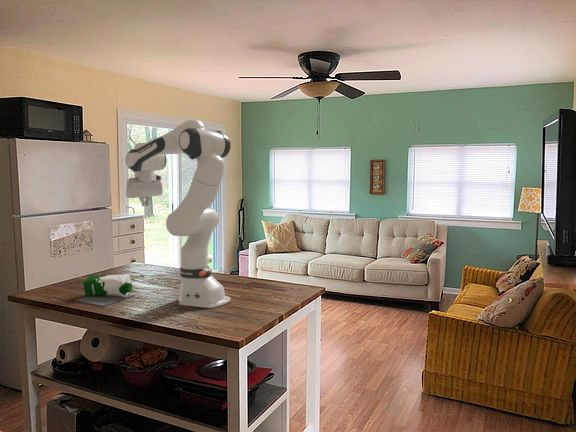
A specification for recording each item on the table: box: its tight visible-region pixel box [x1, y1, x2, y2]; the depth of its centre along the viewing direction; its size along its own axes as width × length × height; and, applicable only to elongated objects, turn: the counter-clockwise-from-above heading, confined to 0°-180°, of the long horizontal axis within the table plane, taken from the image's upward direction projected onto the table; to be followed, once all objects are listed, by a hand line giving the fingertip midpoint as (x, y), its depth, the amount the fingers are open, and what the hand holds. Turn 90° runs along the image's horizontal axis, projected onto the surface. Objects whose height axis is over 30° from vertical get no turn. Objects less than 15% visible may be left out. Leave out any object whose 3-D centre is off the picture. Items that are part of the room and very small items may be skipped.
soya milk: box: [82, 273, 133, 297], centre depth 208 cm, size 9×9×20 cm
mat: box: [75, 294, 134, 307], centre depth 205 cm, size 17×16×1 cm
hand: (145, 206), depth 229 cm, fingers closed
